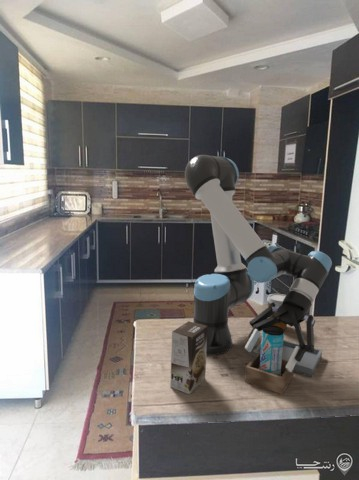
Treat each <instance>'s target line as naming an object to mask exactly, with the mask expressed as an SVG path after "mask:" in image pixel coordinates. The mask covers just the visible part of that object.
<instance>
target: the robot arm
mask: <svg viewBox="0 0 359 480" xmlns="http://www.w3.org/2000/svg"><path fill="white" fill-rule="evenodd" d="M239 175H240V173H239V168H238V166H237V164H236V163H235V162H234V161H233V160H232V159H230V158H228V157H225V156H217V155H216V156H215V155H208V154H199V155H196V156H194V157H193V158H191V159H190V160H189V161H188V163H187V164H186V167H185V170H184V179H185V183H186V185H187V187H188V189H189V191H190V192H191V194H192V195H193V196H194V198H195V199H196V200H200V201H201V202H202V204H203V205H204V206H205V207H206V209H207V210H208V211H209V213H210V220H211V221H210V222H211V227H212V236H213V242H214V250H215V256H216V263H217V266H216V267H215V268H214V273H211V274H203V275H201V276H199V277H198V278H197V279H196V280H195V282H194V283H195V284H194V289H193V321H192V322H193V323H198V324H202V325H206V326H208V327H207V349H206V355H220V354H224V353H227V352H229V351H231V349H232V347H233V345H232V344H233V338H232V335H231V330H230V328H229V310H231V309H232V308H233V309H234V308H235V307H237V306H239V305H241V304H243V303H245V302H247V301H248V300H249V299H250V298H251V297H252V296H253V293H254V290H255V282H256V283H259V284H260V283H261V284H262V283H267V282H270V281H273V280H275V278H278V277H281V276H282V275H288V276H291V277H293V278H295V279H294V281H293V282H292V284H291V286H290V288H289V291H287V293H286V294H285V295H286V296H285V298H284V300H283V303H282V305H281V306H280V307H279V306H277V305H275V303H274V302H272V303H271V304H270V306H269V307H268V306H267V307H266V308H265V309H264V310H263V311H261V312H260V313H259V314H257V315H256V316H255V317H254V318H252V319H251V320H250V321H249V325H250V326H251V328H252V329H251V331H250V332H249V334H248V335H247V336H248V341H247V342H246V344H245V346H244V350H246V351H247V352H248V353H251V352H252V350H253V349H254V347H255V346H256V343H257V341H258V339H259V338H260V336H261V332H262V328H263V327H264V326H267V325H274V324H276V323H281V322H282V323H283V324H287V325H288V326H289V327H294V331H295V334H296V338H297V341H298V342H297V343H298V344H299V346H300V348H299V347H298V346H296V347H295V349H294V351H293V353H292V355H291V357H290V359H289V361H288V363H287V365H286V369H287V370H288V371H289V372H292V370H293V368H294V366H295V364H296V362H297V361H299V362H300V361H301V359H302V357H303V355H304V353H305V352H306V351H310V352H314V348H315V338H314V337H315V336H314V334H315V333H314V331H315V330H314V329H315V328H314V326H315V323H316V319H315V318H314V315H313V314H310V315H307V314H308V313H309V311H310V308H311V307H312V305H313V304H312V303H313V302H315V299H316V297H317V295H318V293H319V292H320V289H321V287H322V285H323V284H324V282H325V280H326V278H327V276H329V272H330V269H331V268H332V266H333V262H332V259H331V257H330V256H329V255H328V254H326V253H324V252H323V251H319V250H317V251H315V250H312V251H310V252H309V253H308V254H307V255H305V254H301V253H298V252H296V251H292V250H289V249H286V248H284V247H282V246H277V245H270V246H269V247H267V246H266V244H265V243H264V242H263V241H262V239H261V238H260V236H259V234H257V233H256V231H255V229H254V228H252V226H251V224H250V223H249V222H248V220H247V219H246V218H245V216H243V213H241V212H240V210H239V209H238V208H237V206H236V205H235V203H234V201H233V197H234V195H235V193H236V185H237V182H238V181H239ZM241 256H242V257H243V259H244V260H245V262H246V264H247V266H246V265H245V264H244V263H243V262H242V257H241ZM277 311H278V312H277ZM274 312H277V313H275V314H274ZM271 315H273V316H271ZM270 316H271V317H270ZM278 317H279V318H278ZM304 321H305V323H306V324H305V325H306V342H305V338H304V335H303V331H302V326H301V323H302V322H304Z"/></svg>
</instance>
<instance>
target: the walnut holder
mask: <svg viewBox="0 0 359 480" xmlns="http://www.w3.org/2000/svg"><path fill="white" fill-rule="evenodd" d="M260 354H261V352H258V353H257V354H256V356H255V357H254V358H253V357H252V359H251V360H250V361H249V362H248V364H246V365H245V373H244V382H245V383H248V384H251V385H253V386H256V387H259V388H263V389H266V390H269V391H272V392H274V393H277V394H278V395H279V394H280V395H283V394H284V393H285V391H286V389H287V388H288V385H289V384H290V382H291V380H292V379H293V377H294V373H295V372H294V368H293V370H292V372H289V371H288V370H287V369H286V365H287V363H288V361H289V360H286V359H283V358H282V364H281V375H282V376H281V375H280V376H278V375H275V374H272V373H269V372H265V371H262V370H259V368H260Z"/></svg>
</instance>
